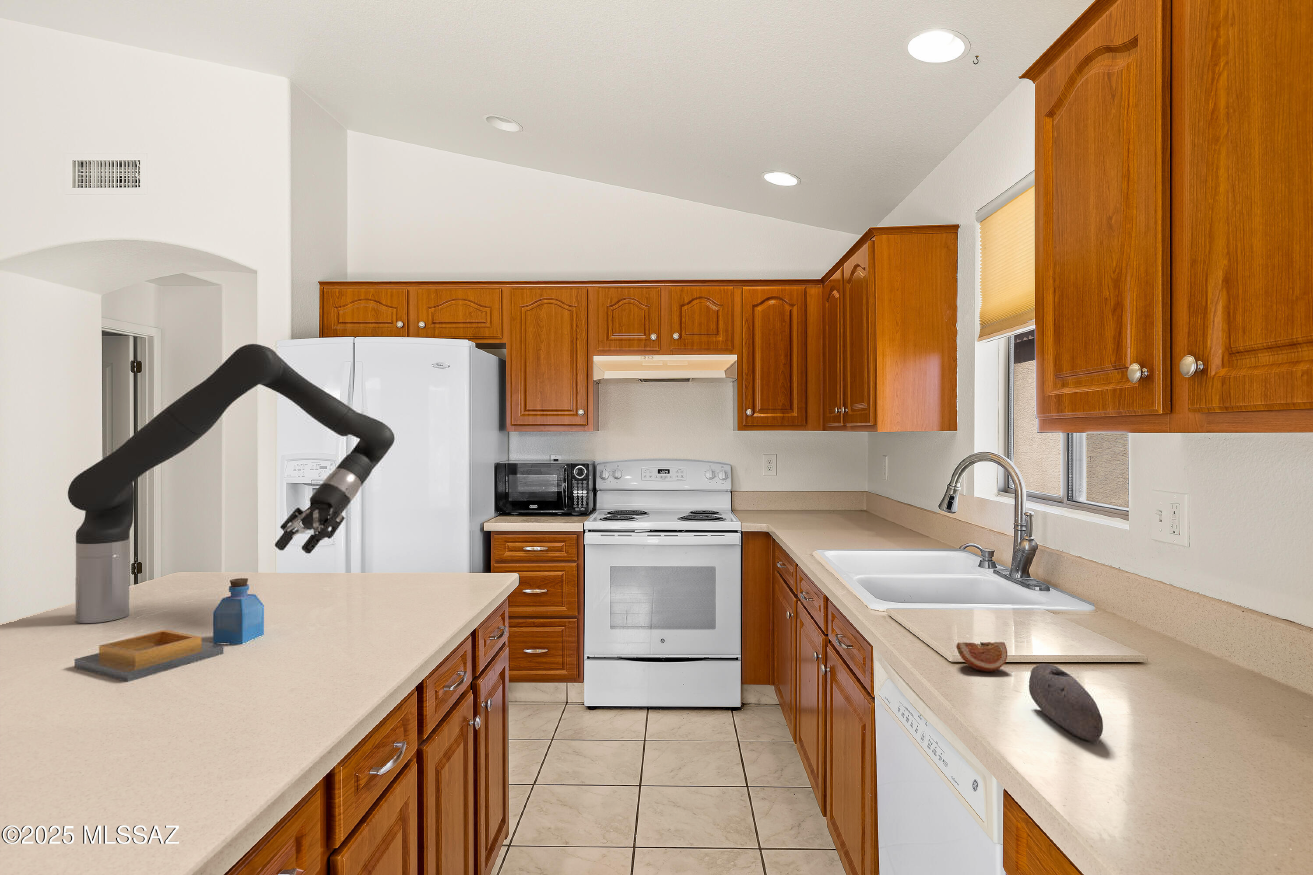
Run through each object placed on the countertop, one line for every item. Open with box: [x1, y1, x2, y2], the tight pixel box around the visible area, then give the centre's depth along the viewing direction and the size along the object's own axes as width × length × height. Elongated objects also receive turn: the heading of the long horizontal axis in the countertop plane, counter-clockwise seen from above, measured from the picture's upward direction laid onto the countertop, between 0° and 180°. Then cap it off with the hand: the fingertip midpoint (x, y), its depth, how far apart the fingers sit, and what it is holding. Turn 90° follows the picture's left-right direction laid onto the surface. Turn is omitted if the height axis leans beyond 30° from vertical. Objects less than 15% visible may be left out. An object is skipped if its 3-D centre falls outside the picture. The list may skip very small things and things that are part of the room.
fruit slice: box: [955, 641, 1008, 673], centre depth 121 cm, size 8×7×5 cm
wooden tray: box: [74, 629, 224, 683], centre depth 123 cm, size 16×16×4 cm
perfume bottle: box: [212, 577, 265, 645], centre depth 136 cm, size 6×6×12 cm
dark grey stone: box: [1028, 663, 1104, 742], centre depth 97 cm, size 15×5×7 cm, turn 175°
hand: (291, 549), depth 147 cm, fingers open, 8 cm apart
